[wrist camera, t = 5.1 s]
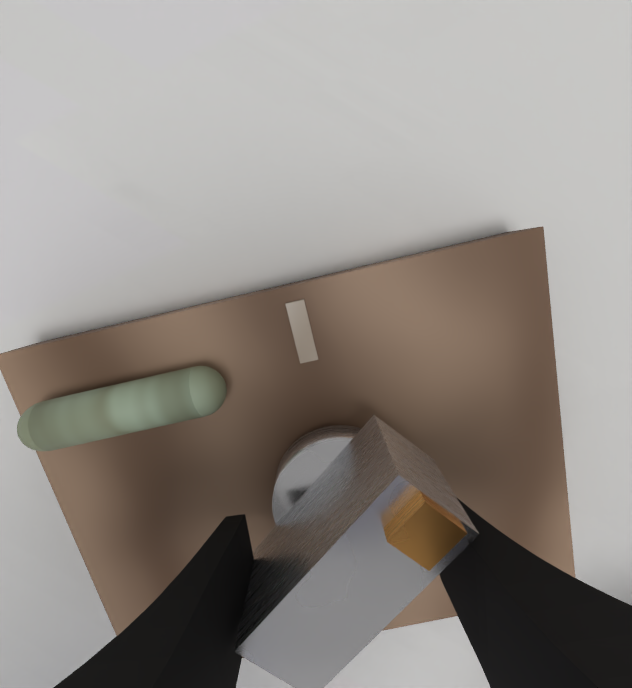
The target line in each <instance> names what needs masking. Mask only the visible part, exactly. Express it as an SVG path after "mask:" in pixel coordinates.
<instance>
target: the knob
mask: <svg viewBox="0 0 632 688" xmlns="http://www.w3.org/2000/svg"><path fill="white" fill-rule="evenodd" d="M272 511H273V517H274V521H275V523H276V526H275V527H274V528H273V529H272V531H271V532H270V533H269V534H268V535H267V536H266V537H265V539H264V540H263V541H262V542H261V543H260V544H259V545H258V547H257V548H256V549H255V551H254V563H253V568H252V573H251V578H250V584H249V588H248V592H247V596H246V600H245V604H244V608H243V612H242V616H241V621H240V626H239V631H238V636H237V641H236V646H235V651H234V652H236V653H237V654H239V655H241V656H242V657H244V658H246V659H247V660H249V661H251V662H253V663H254V664H256V665H258V666H259V667H261V668H263V669H264V670H266V671H268V672H269V673H271V674H273V675H274V676H276V677H278V678H279V679H281V680H283V681H284V682H286V683H288V684H289V685H291V686H293V687H295V688H324V687H325V686H326V685H327V684H328V683H329V682H330V681H331V680H332V679H333V678H334V677H335V676H336V675H337V674H338V673H339V672H340V671H341V670H342V669H343V668H344V667H345V666H346V665H347V664H348V663H349V662H350V661H351V660H352V659H353V658H354V657H355V656H356V655H357V654H358V653H359V652H360V651H361V650H362V649H363V648H364V647H365V646H366V645H367V644H368V643H370V642H371V641H372V640H373V639H374V638H375V637H376V636H377V635H378V634H379V633H380V632H381V631H382V630H383V629H384V628H385V627H386V626H387V625H388V624H389V623H390V622H391V621H392V620H393V619H394V618H395V617H396V616H397V615H398V614H399V613H400V612H401V611H402V610H403V609H404V608H405V607H406V606H407V605H408V604H409V603H410V602H411V601H412V600H413V599H414V598H415V597H416V596H417V595H418V594H419V593H420V592H421V591H423V590H424V589H425V588H426V587H427V586H428V585H429V584H430V583H431V582H432V581H433V580H434V579H435V578H436V577H437V576H438V575H439V574H440V573H441V572H442V571H443V570H444V569H445V568H446V567H447V566H448V565H449V564H450V563H451V562H452V561H453V560H454V559H455V558H456V557H457V556H458V555H459V554H460V553H461V552H462V551H463V550H464V549H465V548H466V547H467V546H468V545H469V542H472V541H473V540H474V539H475V538H477V537H478V536H479V533H478V531H477V530H476V528H475V526H474V525H473V523H472V522H471V520H470V518H469V517H468V515H467V514H466V512H465V510H464V509H463V507H462V505H461V504H460V502H459V501H458V499H457V497H456V496H455V494H454V493H453V491H452V489H451V488H450V486H449V484H448V483H447V481H446V480H445V478H444V476H443V475H442V473H441V471H440V470H439V468H438V467H437V465H436V463H435V462H434V460H433V459H432V458H431V457H429V456H428V455H427V454H425V453H424V452H423V451H421V450H420V449H419V448H417V447H416V446H415V445H413V444H412V443H411V442H410V441H408V440H407V439H406V438H404V437H403V436H402V435H400V434H399V433H398V432H396V431H395V430H394V429H392V428H391V427H390V426H388V425H387V424H386V423H384V422H383V421H382V420H381V419H379V418H378V417H377V416H375V415H373V416H372V417H371V418H370V419H369V421H368V422H367V423H366V424H365V425H364V426H363V427H362V428H358V427H354V426H347V425H332V426H326V427H322V428H318V429H315V430H313V431H311V432H309V433H307V434H305V435H303V436H302V437H300V438H299V439H298V440H296V441H295V442H294V443H293V444H292V445H291V446H290V447H289V448H288V450H287V451H286V452H285V454H284V455H283V457H282V459H281V461H280V463H279V466H278V469H277V474H276V479H275V485H274V491H273V497H272Z"/></svg>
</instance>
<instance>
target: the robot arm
mask: <svg viewBox="0 0 632 688" xmlns="http://www.w3.org/2000/svg"><path fill="white" fill-rule="evenodd" d="M457 499H458V498H457ZM458 501H459V502H460V504H461V505H462V507H463V509H464V510H465V512H466V514H467V515H468V517H469V518H470V520H471V522H472V523H473V525H474V526H475V528H476V530H477V531H478V533H479V536H478V537H477V538H475V539H474V540H473V541H472V542H469V545H468V546H467V547H466V548H465V549H464V550H463V551H462V552H461V553H460V554H459V555H458V556H457V557H456V558H455V559H454V560H453V561H452V562H451V563H450V564H449V565H448V566H447V567H446V568H445V569H444V570H443V571H442V572H441V573H440V574H439V575H440V578H441V581H442V583H443V585H444V587H445V589H446V592H447V594H448V596H449V598H450V600H451V602H452V604H453V607H454V609H455V611H456V613H457V615H458V617H459V619H460V621H461V624H462V626H463V628H464V630H465V632H466V634H467V636H468V638H469V640H470V643H471V645H472V647H473V649H474V651H475V653H476V655H477V657H478V660H479V662H480V664H481V666H482V668H483V671H484V673H485V675H486V678H487V680H488V682H489V684H490V687H491V688H632V606H631V605H629V604H627V603H624V602H622V601H620V600H618V599H616V598H614V597H612V596H610V595H608V594H606V593H604V592H602V591H600V590H598V589H596V588H594V587H592V586H590V585H587V584H585V583H584V582H582V581H580V580H578V579H576V578H574V577H572V576H570V575H569V574H567V573H565V572H563V571H562V570H560V569H558V568H557V567H555V566H553V565H551V564H550V563H548V562H546V561H544V560H543V559H541V558H540V557H538V556H536V555H535V554H533V553H531V552H530V551H528V550H527V549H525V548H524V547H522V546H521V545H519V544H518V543H516V542H515V541H513V540H512V539H510V538H509V537H508V536H506V535H505V534H503V533H502V532H501V531H499V530H498V529H496V528H495V527H494V526H492V525H491V524H490V523H488V522H487V521H486V520H484V519H483V518H482V517H481V516H479V515H478V514H477V513H475V512H474V511H473V510H472V509H470V508H469V507H468V506H467V505H465V504H464V503H463V502H462V501H460V500H459V499H458ZM253 563H254V556H253V551H252V546H251V541H250V536H249V531H248V526H247V521H246V516H245V514H241V515H234V516H226V517H225V518H224V519H223V521H222V522H221V523H220V524H219V526H218V527H217V528H216V529H215V531H214V532H213V533H212V534H211V536H210V537H209V538H208V539H207V541H206V542H205V543H204V544H203V546H202V547H201V548H200V549H199V551H198V552H197V553H196V554H195V555H194V557H193V558H192V559H191V560H190V561H189V563H188V564H187V565H186V566H185V568H184V569H183V570H182V571H181V572H180V573H179V574H178V575H177V576H176V578H175V579H174V580H173V581H172V582H171V583H170V584H169V585H168V586H167V588H166V589H165V590H164V591H163V592H162V593H161V594H160V595H159V596H158V597H157V598H156V599H155V600H154V602H153V603H152V604H151V605H150V606H149V607H148V608H147V609H146V610H145V611H144V612H142V613H141V614H140V615H139V616H138V617H137V618H136V619H135V620H134V621H133V622H132V623H131V624H130V625H129V626H128V627H127V628H126V629H124V630H123V631H122V632H121V633H120V634H119V635H118V636H116V637H115V638H114V639H113V640H112V641H111V642H109V643H108V644H107V645H106V646H105V647H104V648H102V649H101V650H100V651H99V652H98V653H97V654H95V655H94V656H93V657H92V658H91V659H89V660H88V661H87V662H86V663H85V664H83V665H82V666H81V667H80V668H78V669H77V670H76V671H75V672H73V673H72V674H71V675H69V676H68V677H67V678H66V679H64V680H63V681H62V682H60V683H59V684H58V685H56V686H55V687H54V688H236V683H237V678H238V673H239V669H240V664H241V659H242V656H241V655H239V654H237V653H236V652H234V651H235V646H236V641H237V636H238V631H239V626H240V621H241V616H242V612H243V608H244V604H245V600H246V596H247V592H248V588H249V584H250V578H251V573H252V568H253Z"/></svg>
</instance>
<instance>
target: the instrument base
mask: <svg viewBox="0 0 632 688" xmlns="http://www.w3.org/2000/svg"><path fill="white" fill-rule="evenodd" d="M0 370H1V372H2V374H3V377H4V379H5V381H6V384H7V386H8V388H9V391H10V393H11V395H12V397H13V400H14V402H15V404H16V407H17V409H18V411H19V413H20V416H21V417H20V419H19V422H18V425H17V433H18V436H19V439H20V440H21V442H22V443H23V444H24V445H26V446H27V447H28V448H31V449H33V450H36V452H37V455H38V457H39V459H40V461H41V464H42V466H43V468H44V471H45V473H46V475H47V477H48V480H49V482H50V484H51V487H52V489H53V491H54V493H55V496H56V498H57V500H58V503H59V505H60V507H61V509H62V512H63V514H64V516H65V519H66V521H67V523H68V525H69V528H70V530H71V532H72V535H73V537H74V539H75V541H76V544H77V546H78V548H79V551H80V553H81V555H82V558H83V560H84V562H85V564H86V567H87V569H88V571H89V574H90V576H91V578H92V580H93V583H94V585H95V587H96V590H97V592H98V594H99V596H100V599H101V601H102V603H103V606H104V608H105V610H106V612H107V615H108V617H109V619H110V622H111V624H112V626H113V628H114V631H115V633H116V635H117V636H118V635H119V634H120V633H121V632H122V631H123V630H124V629H126V628H127V627H128V626H129V625H130V624H131V623H132V622H133V621H134V620H135V619H136V618H137V617H138V616H139V615H140V614H141V613H142V612H144V611H145V610H146V609H147V608H148V607H149V606H150V605H151V604H152V603H153V602H154V600H155V599H156V598H157V597H158V596H159V595H160V594H161V593H162V592H163V591H164V590H165V589H166V588H167V586H168V585H169V584H170V583H171V582H172V581H173V580H174V579H175V578H176V576H177V575H178V574H179V573H180V572H181V571H182V570H183V569H184V568H185V566H186V565H187V564H188V563H189V561H190V560H191V559H192V558H193V557H194V555H195V554H196V553H197V552H198V551H199V549H200V548H201V547H202V546H203V544H204V543H205V542H206V541H207V539H208V538H209V537H210V536H211V534H212V533H213V532H214V531H215V529H216V528H217V527H218V526H219V524H220V523H221V522H222V521H223V519H224V518H225V517H226V516H234V515H241V514H245V516H246V521H247V526H248V531H249V536H250V541H251V546H252V551H253V556H254V551H255V549H256V548H257V547H258V545H259V544H260V543H261V542H262V541H263V540H264V539H265V537H266V536H267V535H268V534H269V533H270V532H271V531H272V529H273V528H274V527H275V526H276V523H275V521H274V517H273V511H272V497H273V491H274V485H275V479H276V474H277V469H278V466H279V463H280V461H281V459H282V457H283V455H284V454H285V452H286V451H287V450H288V448H289V447H290V446H291V445H292V444H293V443H294V442H295V441H296V440H298V439H299V438H300V437H302V436H303V435H305V434H307V433H309V432H311V431H313V430H315V429H318V428H322V427H326V426H332V425H347V426H354V427H358V428H362V427H363V426H364V425H365V424H366V423H367V422H368V421H369V419H370V418H371V417H372V416H373V415H375V416H377V417H378V418H379V419H381V420H382V421H383V422H384V423H386V424H387V425H388V426H390V427H391V428H392V429H394V430H395V431H396V432H398V433H399V434H400V435H402V436H403V437H404V438H406V439H407V440H408V441H410V442H411V443H412V444H413V445H415V446H416V447H417V448H419V449H420V450H421V451H423V452H424V453H425V454H427V455H428V456H429V457H431V458H432V459H433V460H434V462H435V463H436V465H437V467H438V468H439V470H440V471H441V473H442V475H443V476H444V478H445V480H446V481H447V483H448V484H449V486H450V488H451V489H452V491H453V493H454V494H455V496H456V497H457V498H458V499H459V500H460V501H462V502H463V503H464V504H465V505H467V506H468V507H469V508H470V509H472V510H473V511H474V512H475V513H477V514H478V515H479V516H481V517H482V518H483V519H484V520H486V521H487V522H488V523H490V524H491V525H492V526H494V527H495V528H496V529H498V530H499V531H501V532H502V533H503V534H505V535H506V536H508V537H509V538H510V539H512V540H513V541H515V542H516V543H518V544H519V545H521V546H522V547H524V548H525V549H527V550H528V551H530V552H531V553H533V554H535V555H536V556H538V557H540V558H541V559H543V560H544V561H546V562H548V563H550V564H551V565H553V566H555V567H557V568H558V569H560V570H562V571H563V572H565V573H567V574H569V575H570V576H572V577H574V578H575V570H574V559H573V548H572V537H571V526H570V515H569V504H568V493H567V482H566V471H565V460H564V449H563V438H562V427H561V416H560V405H559V394H558V383H557V372H556V361H555V350H554V339H553V328H552V317H551V306H550V295H549V284H548V273H547V262H546V251H545V240H544V229H543V227H537V228H531V229H524V230H518V231H512V232H507V233H502V234H498V235H494V236H490V237H485V238H481V239H477V240H473V241H468V242H464V243H460V244H456V245H451V246H447V247H443V248H439V249H434V250H430V251H426V252H422V253H417V254H413V255H409V256H405V257H400V258H396V259H392V260H388V261H383V262H379V263H375V264H371V265H366V266H362V267H358V268H354V269H349V270H345V271H341V272H337V273H332V274H328V275H324V276H320V277H315V278H311V279H307V280H303V281H298V282H294V283H290V284H286V285H281V286H277V287H273V288H269V289H264V290H260V291H256V292H252V293H247V294H243V295H239V296H235V297H230V298H226V299H222V300H218V301H213V302H209V303H205V304H201V305H196V306H192V307H188V308H184V309H179V310H175V311H171V312H167V313H162V314H158V315H154V316H150V317H145V318H141V319H137V320H133V321H128V322H124V323H120V324H116V325H111V326H107V327H103V328H99V329H94V330H90V331H86V332H82V333H77V334H73V335H69V336H65V337H60V338H56V339H52V340H48V341H43V342H39V343H36V344H32V345H29V346H25V347H22V348H18V349H15V350H11V351H8V352H5V353H1V354H0ZM454 616H458V615H457V613H456V611H455V609H454V607H453V604H452V602H451V600H450V598H449V596H448V594H447V592H446V589H445V587H444V585H443V583H442V581H441V578H440V575H438V576H437V577H436V578H435V579H434V580H433V581H432V582H431V583H430V584H429V585H428V586H427V587H426V588H425V589H424V590H423V591H421V592H420V593H419V594H418V595H417V596H416V597H415V598H414V599H413V600H412V601H411V602H410V603H409V604H408V605H407V606H406V607H405V608H404V609H403V610H402V611H401V612H400V613H399V614H398V615H397V616H396V617H395V618H394V619H393V620H392V621H391V622H390V623H389V624H388V625H387V626H386V627H385V628H384V629H383V630H388V629H393V628H398V627H403V626H408V625H413V624H418V623H423V622H428V621H433V620H439V619H444V618H449V617H454ZM242 658H244V657H242Z"/></svg>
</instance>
